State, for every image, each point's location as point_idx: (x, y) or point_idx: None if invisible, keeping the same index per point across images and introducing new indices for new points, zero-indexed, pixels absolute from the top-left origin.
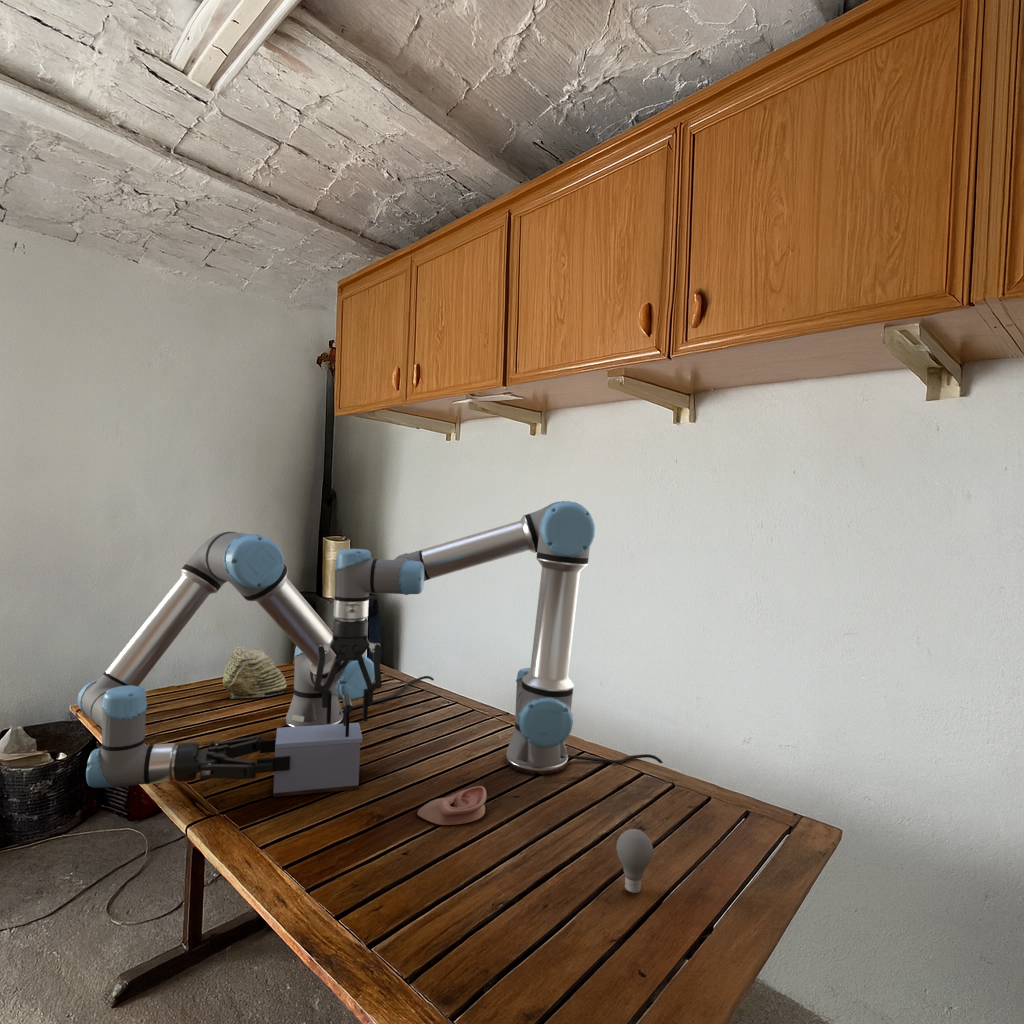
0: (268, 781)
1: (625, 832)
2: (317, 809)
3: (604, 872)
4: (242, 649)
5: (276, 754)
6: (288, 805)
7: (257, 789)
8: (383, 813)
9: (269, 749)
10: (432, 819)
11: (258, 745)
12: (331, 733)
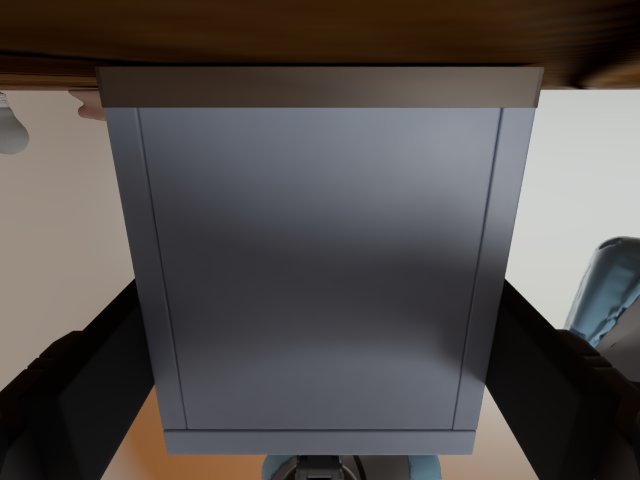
0: (495, 56)
1: (10, 152)
2: (33, 77)
3: (23, 89)
4: None
5: (159, 392)
6: (4, 70)
7: (296, 43)
8: (89, 84)
9: (520, 359)
10: (77, 95)
11: (615, 473)
12: None
